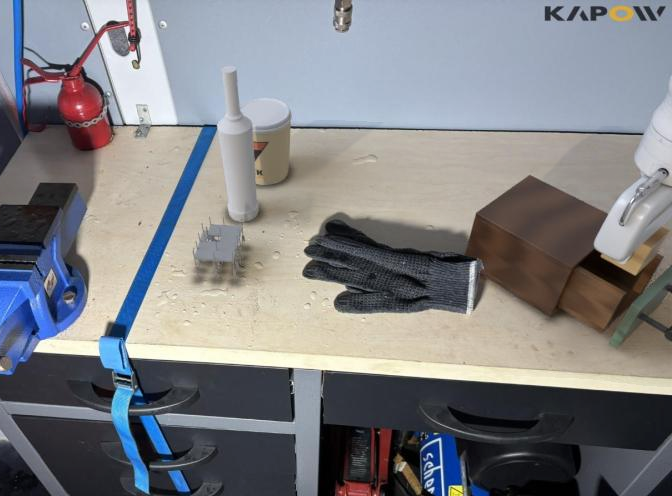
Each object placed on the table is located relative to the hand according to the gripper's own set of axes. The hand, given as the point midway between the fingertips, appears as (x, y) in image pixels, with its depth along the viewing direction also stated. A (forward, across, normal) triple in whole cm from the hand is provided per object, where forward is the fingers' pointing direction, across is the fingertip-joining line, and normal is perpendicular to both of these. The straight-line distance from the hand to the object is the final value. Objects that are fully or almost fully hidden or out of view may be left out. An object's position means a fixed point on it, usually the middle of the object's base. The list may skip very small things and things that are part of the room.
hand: (633, 247), depth 74 cm
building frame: (+12, -33, +43) cm, 55 cm away
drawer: (+11, 0, -1) cm, 11 cm away
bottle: (+12, -23, +50) cm, 56 cm away
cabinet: (+11, 0, +11) cm, 16 cm away
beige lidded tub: (+12, -13, +56) cm, 59 cm away
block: (+2, 0, 0) cm, 2 cm away
